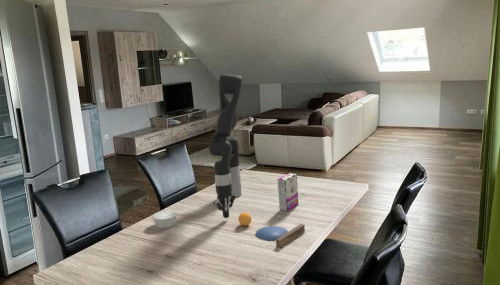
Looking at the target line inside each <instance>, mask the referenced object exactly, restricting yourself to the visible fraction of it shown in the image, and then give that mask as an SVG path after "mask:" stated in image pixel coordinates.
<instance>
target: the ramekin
mask: <svg viewBox="0 0 500 285" xmlns="http://www.w3.org/2000/svg"><path fill="white" fill-rule="evenodd" d="M152 219H153V223H154V225H155V227H156V228H157V229H168V228H169V229H170V228H171V227H174V226H175V224H176V223H177V212H176V211H174V210H170V209H167V210H161V211H158V212H155V213H154V214H152Z"/></svg>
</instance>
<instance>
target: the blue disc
mask: <svg viewBox="0 0 500 285" xmlns="http://www.w3.org/2000/svg"><path fill="white" fill-rule="evenodd" d="M287 232H289V230H287V229H286V228H285V227H281V226H279V225H278V226H276V225H274V226H273V225H270V226H264V227H262V228H259V229H257V230H256V232H255V236H256V237H257V238H258V239H260V240H262V241H269V242H270V241H271V242H272V241H276V239H278V238H279V237H281V236H282V235H284V234H286V233H287Z"/></svg>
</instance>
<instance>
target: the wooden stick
mask: <svg viewBox="0 0 500 285" xmlns="http://www.w3.org/2000/svg"><path fill="white" fill-rule="evenodd" d="M305 227H306V226H305V224H303V223H299V225H297V226H295V227H293V228H292V229H291V230H288V232H287V233H286V234H284V235H282V236H281V237H279V238H278V239H276V240H275V245H276V246H275V247H277V248H280V249H281V248H283V247H284V246H286V245H287V244H288V243H290V242H291V241H293V240H294V239H296V238H297V237H299V236H301V235H302V234H304V233H305V231H306V230H305Z"/></svg>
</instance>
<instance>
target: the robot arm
mask: <svg viewBox="0 0 500 285" xmlns="http://www.w3.org/2000/svg"><path fill="white" fill-rule="evenodd" d="M243 84H244V82H243V77H242V76H241V75H237V74H235V75H234V74H229V73H222V74H221V75H220V76H219V80H218V95H219V112H218V114H219V116H218V117H217V123H216V127H215V128H216V129H215V131H214V133H213V136H212V138H211V139H210V143H209V145H208V150H209V151H208V152H209V153H210V155H212V156H215V157H216V156H217V157H219V156H220V157H221V159H220V160H217V161H215V162H214V166H213V167H214V182H215V193H216V194H217V196H216V201H214V202H213V205H214V206H215V207H216V209H218V211H220V212H221V211H222V217H223V218H224V219H228V218H230V209H231V208H232V207H233V205H234V202H235V200H236V198H238V197H240V196H242V194H243V193H242V183H241V182H242V181H241V166H240V157H239V156H240V154H239V153H240V152H239V151H240V150H239V148H240V147H239V139H238V137H236V136H231V133H232V131H233V130H234V129H235V127H236V126H237V122H238V110H237V108H238V106H239V101H240V98H241V94H242V91H243V90H242V89H243ZM229 95H232V98H231V100H230V98H229ZM230 136H231V137H230Z"/></svg>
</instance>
